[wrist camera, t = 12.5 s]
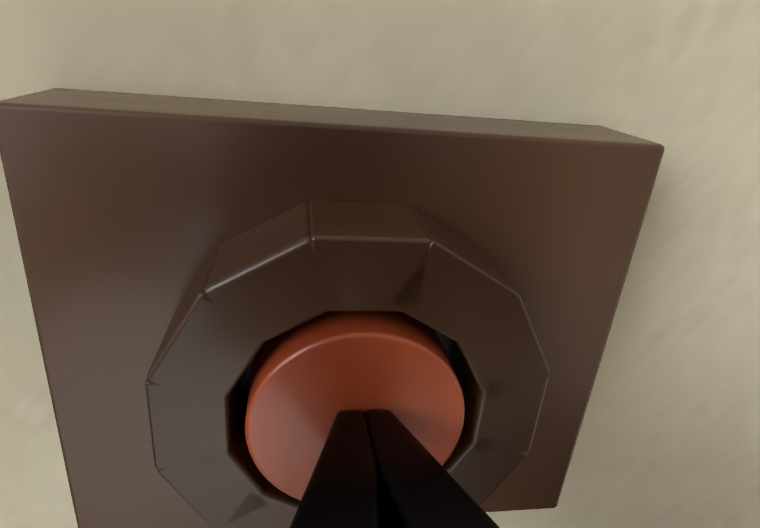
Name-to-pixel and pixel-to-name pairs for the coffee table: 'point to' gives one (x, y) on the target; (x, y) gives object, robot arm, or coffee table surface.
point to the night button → (347, 389)
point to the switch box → (307, 280)
